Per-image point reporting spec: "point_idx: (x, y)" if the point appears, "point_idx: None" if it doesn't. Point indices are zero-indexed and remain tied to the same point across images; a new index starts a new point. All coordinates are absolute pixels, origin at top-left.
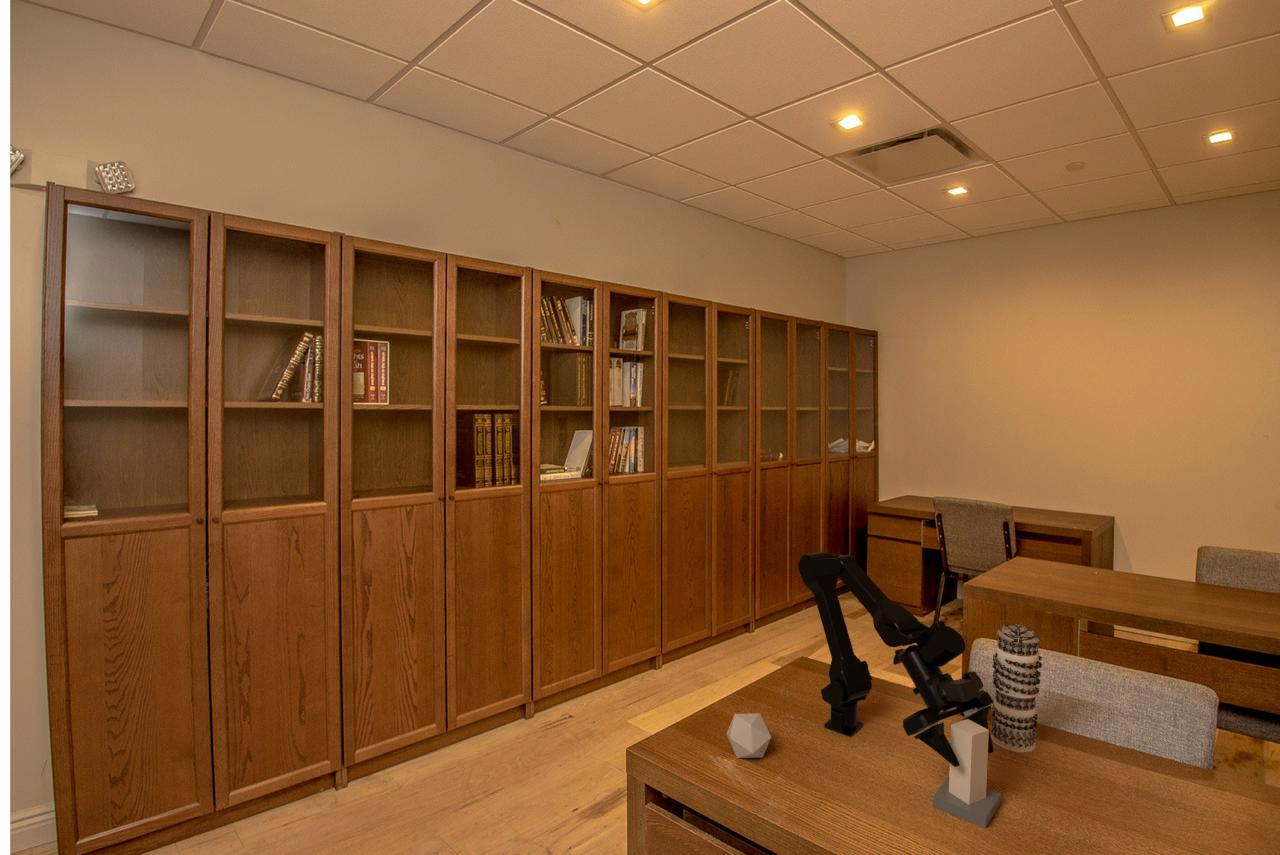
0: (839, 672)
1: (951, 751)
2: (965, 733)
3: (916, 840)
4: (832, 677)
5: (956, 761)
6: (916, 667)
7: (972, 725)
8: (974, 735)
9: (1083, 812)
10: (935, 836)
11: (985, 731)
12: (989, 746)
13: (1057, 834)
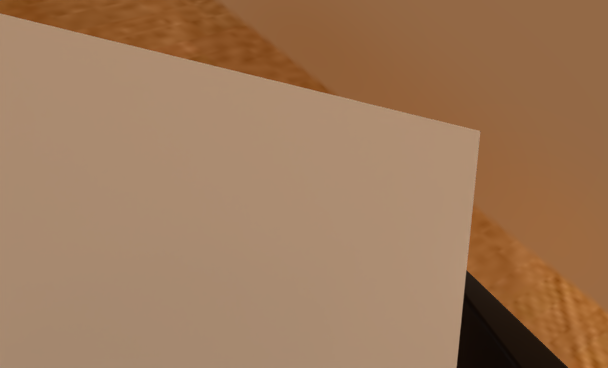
0: None
1: (520, 342)
2: (452, 287)
3: (551, 288)
4: None
5: (471, 276)
6: None
7: (2, 342)
8: (404, 119)
9: (24, 14)
10: (487, 259)
11: (81, 40)
12: None
13: (198, 33)
